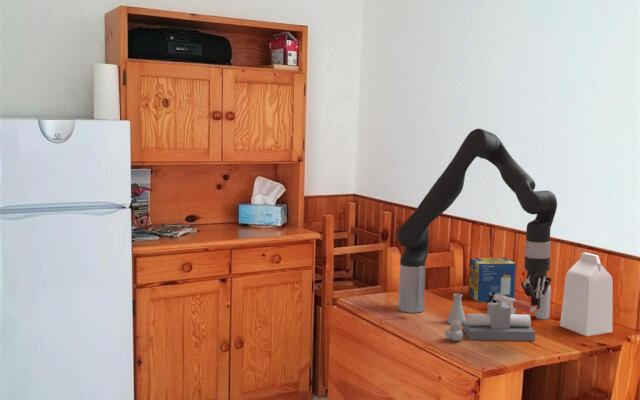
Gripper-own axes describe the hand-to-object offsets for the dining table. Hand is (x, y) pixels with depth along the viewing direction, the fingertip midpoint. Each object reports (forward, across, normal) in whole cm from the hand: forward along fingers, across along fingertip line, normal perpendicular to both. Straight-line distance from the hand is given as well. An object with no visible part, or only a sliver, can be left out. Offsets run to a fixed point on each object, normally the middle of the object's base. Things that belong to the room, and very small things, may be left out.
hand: (535, 308), depth 204 cm
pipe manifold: (+12, +2, -13) cm, 17 cm away
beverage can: (+12, -27, -16) cm, 34 cm away
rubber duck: (+12, +18, -18) cm, 28 cm away
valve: (+12, -20, -28) cm, 37 cm away
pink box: (0, +3, -6) cm, 7 cm away
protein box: (+13, -34, -44) cm, 57 cm away
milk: (+12, -29, +1) cm, 31 cm away
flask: (+12, +2, -30) cm, 32 cm away
